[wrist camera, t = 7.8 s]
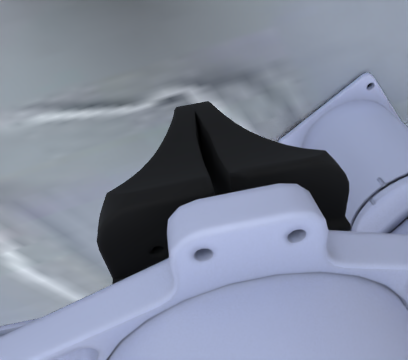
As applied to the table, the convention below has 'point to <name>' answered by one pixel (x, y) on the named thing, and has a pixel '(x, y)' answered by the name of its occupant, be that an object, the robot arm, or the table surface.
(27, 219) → the table surface
